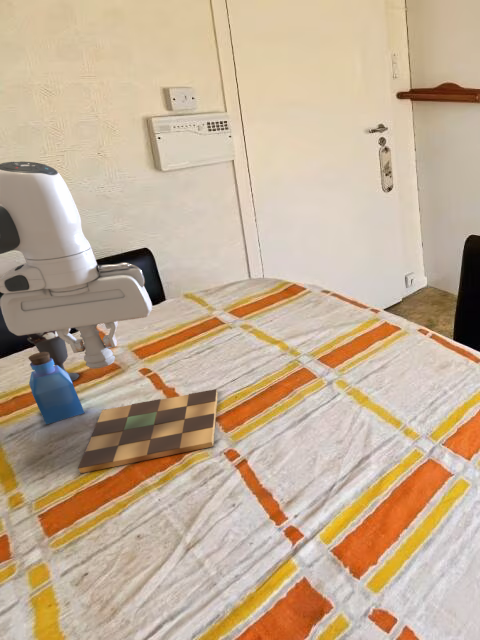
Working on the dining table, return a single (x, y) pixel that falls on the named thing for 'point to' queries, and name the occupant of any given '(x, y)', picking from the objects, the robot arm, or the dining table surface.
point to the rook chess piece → (95, 348)
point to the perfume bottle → (53, 389)
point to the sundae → (52, 348)
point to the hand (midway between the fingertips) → (95, 348)
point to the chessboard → (151, 430)
